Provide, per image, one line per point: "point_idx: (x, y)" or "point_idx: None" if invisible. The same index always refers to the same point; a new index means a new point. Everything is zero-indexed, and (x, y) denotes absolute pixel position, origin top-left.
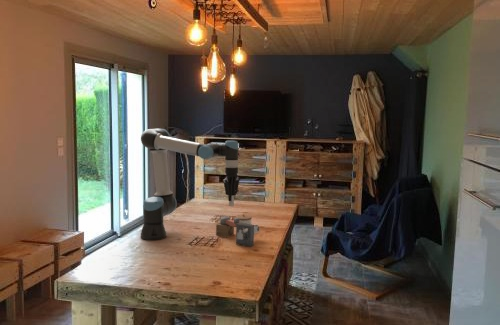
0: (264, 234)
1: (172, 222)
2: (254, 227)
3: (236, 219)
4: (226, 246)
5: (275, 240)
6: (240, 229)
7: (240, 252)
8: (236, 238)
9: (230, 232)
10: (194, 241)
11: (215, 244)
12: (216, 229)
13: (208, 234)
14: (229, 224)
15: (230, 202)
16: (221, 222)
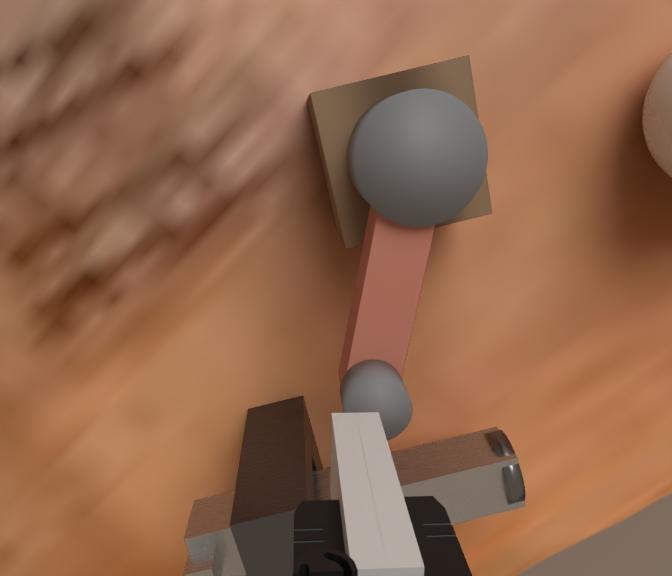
0: (627, 379)
1: None
2: (449, 517)
3: None
4: (147, 399)
5: (540, 528)
6: (209, 571)
7: (134, 552)
8: (244, 438)
9: None
10: (2, 99)
11: (109, 303)
12: (309, 100)
13: (273, 13)
14: (359, 274)
15: (335, 496)
16: (349, 150)
